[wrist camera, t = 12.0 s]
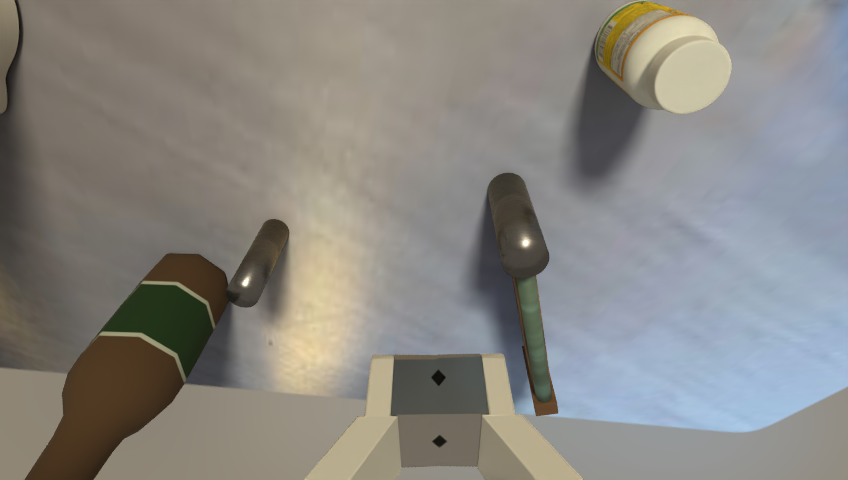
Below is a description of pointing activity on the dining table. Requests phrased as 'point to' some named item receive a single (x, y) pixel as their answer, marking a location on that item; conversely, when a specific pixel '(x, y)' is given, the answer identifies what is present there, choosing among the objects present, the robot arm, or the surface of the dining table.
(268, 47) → the dining table surface
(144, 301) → the beer bottle
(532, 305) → the brown wooden panel
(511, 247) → the posts
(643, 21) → the supplement bottle
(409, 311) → the dining table surface
